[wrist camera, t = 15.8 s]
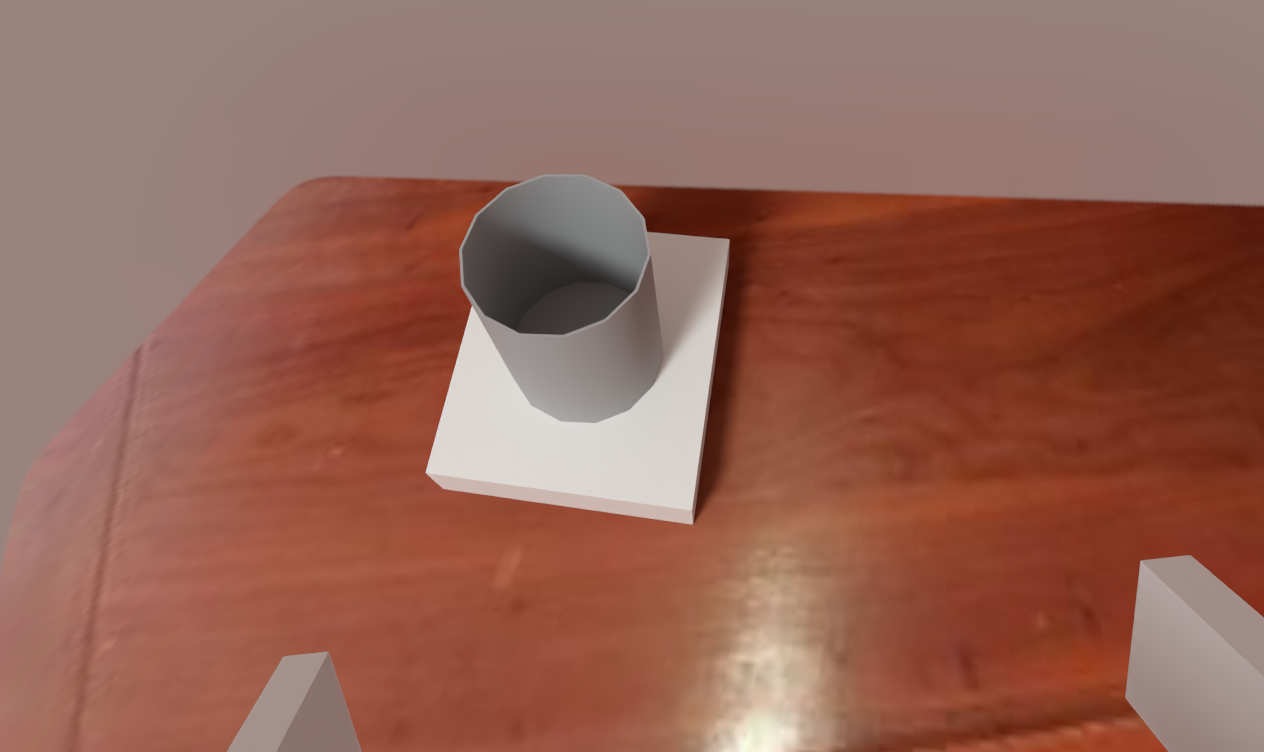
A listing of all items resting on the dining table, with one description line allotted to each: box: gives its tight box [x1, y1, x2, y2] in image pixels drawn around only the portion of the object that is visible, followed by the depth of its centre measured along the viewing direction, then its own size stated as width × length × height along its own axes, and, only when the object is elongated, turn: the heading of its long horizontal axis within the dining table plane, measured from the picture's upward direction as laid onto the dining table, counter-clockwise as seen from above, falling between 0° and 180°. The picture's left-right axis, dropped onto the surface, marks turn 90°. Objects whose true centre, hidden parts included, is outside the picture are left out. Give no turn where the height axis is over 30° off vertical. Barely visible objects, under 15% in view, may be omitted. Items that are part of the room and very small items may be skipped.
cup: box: [459, 174, 663, 423], centre depth 39 cm, size 8×8×10 cm
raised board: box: [426, 232, 730, 525], centre depth 45 cm, size 14×16×3 cm
